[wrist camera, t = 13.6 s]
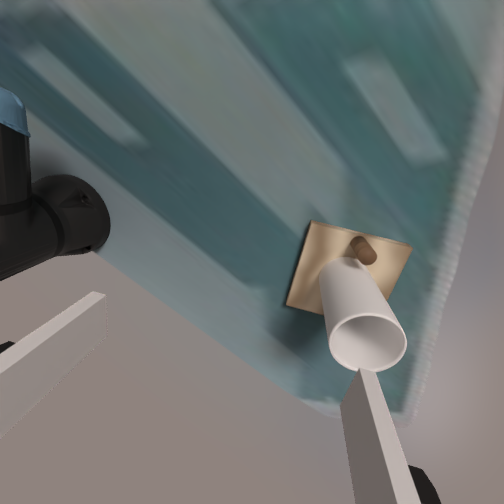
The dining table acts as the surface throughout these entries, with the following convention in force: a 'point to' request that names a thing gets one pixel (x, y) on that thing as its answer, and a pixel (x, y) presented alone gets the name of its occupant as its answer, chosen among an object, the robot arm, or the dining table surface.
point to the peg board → (343, 245)
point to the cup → (359, 318)
